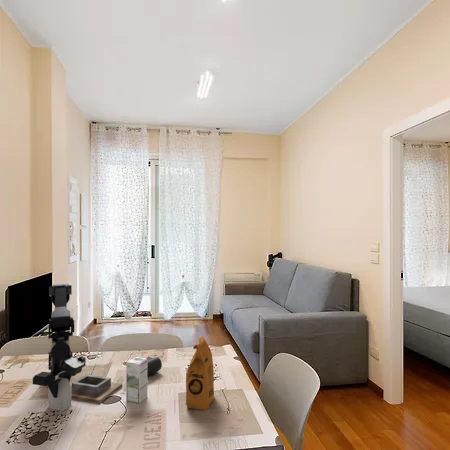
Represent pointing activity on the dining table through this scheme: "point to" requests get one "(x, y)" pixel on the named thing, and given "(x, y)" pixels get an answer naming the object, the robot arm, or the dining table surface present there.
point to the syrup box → (136, 379)
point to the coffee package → (200, 378)
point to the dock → (93, 388)
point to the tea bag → (61, 396)
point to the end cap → (153, 365)
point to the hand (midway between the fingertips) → (59, 395)
